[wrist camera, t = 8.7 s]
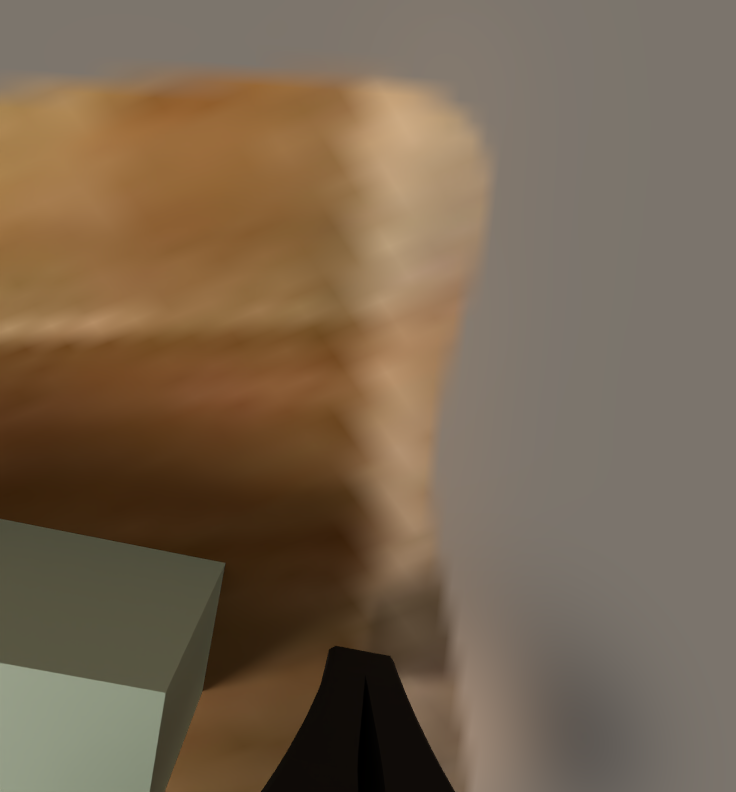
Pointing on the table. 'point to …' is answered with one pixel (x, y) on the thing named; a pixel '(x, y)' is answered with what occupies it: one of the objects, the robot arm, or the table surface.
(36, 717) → the rectangular block
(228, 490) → the table surface
